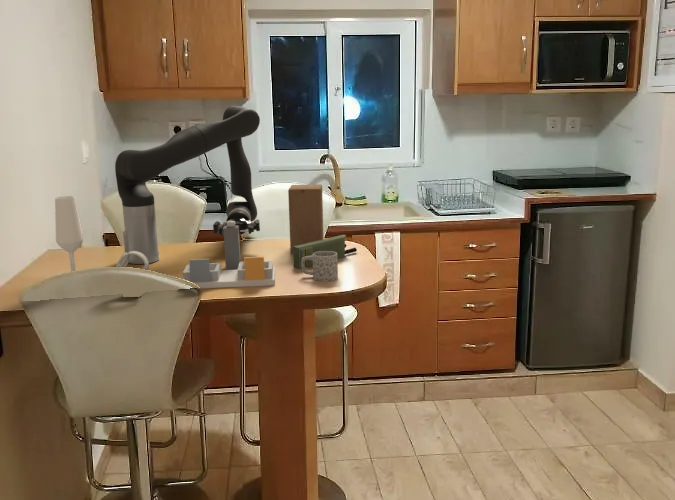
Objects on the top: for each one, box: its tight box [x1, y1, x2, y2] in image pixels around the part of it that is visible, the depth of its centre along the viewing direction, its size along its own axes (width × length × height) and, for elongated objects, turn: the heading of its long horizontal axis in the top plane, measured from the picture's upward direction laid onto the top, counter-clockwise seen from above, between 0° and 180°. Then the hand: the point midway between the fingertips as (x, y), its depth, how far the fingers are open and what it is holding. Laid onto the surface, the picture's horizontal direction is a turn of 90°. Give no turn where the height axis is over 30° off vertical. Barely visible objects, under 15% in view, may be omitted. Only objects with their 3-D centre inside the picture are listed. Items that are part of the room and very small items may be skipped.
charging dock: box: [182, 256, 276, 289], centre depth 179 cm, size 24×12×8 cm, turn 95°
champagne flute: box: [54, 195, 85, 273], centre depth 174 cm, size 7×7×24 cm
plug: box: [223, 221, 242, 270], centre depth 192 cm, size 4×4×14 cm
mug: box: [301, 251, 339, 282], centre depth 181 cm, size 10×7×7 cm, turn 77°
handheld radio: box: [292, 234, 358, 270], centre depth 200 cm, size 7×3×25 cm
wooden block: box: [287, 183, 324, 253], centre depth 214 cm, size 10×10×20 cm
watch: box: [115, 251, 150, 271], centre depth 169 cm, size 6×8×11 cm
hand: (235, 231), depth 203 cm, fingers open, 8 cm apart
